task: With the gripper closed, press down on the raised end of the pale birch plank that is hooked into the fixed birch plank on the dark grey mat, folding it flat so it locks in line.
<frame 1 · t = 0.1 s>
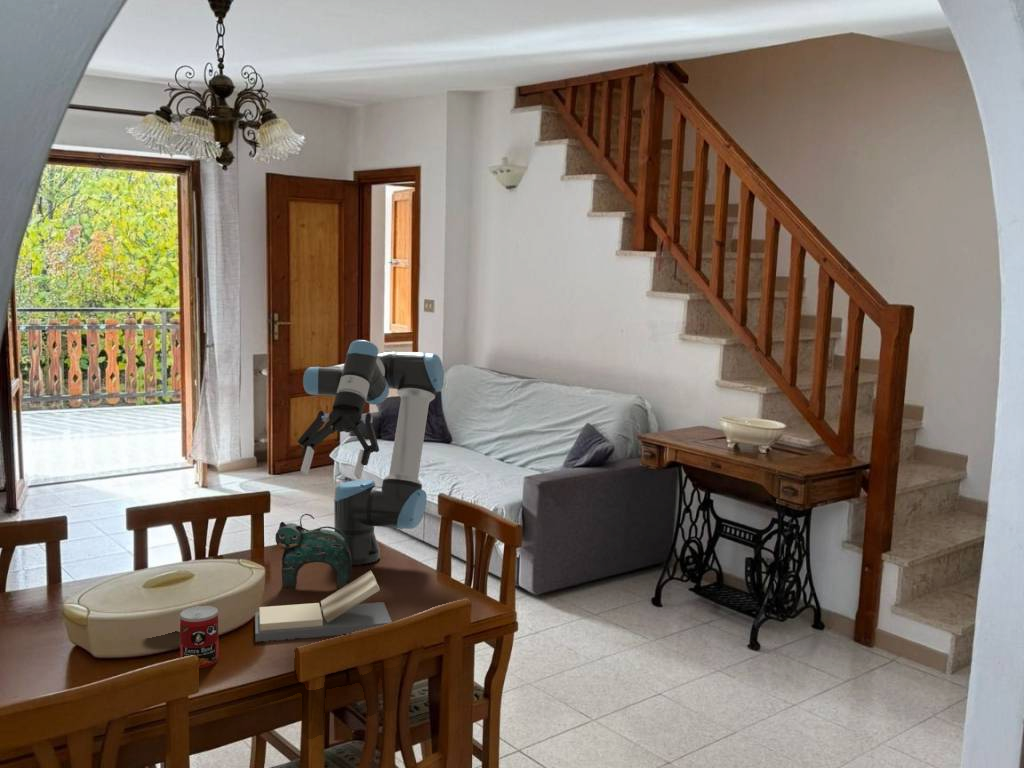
hand: (330, 475, 211), 36 cm above the table, tool tilted 35°, fingers open, 13 cm apart
ceramic cat: (314, 586, 240), on the table
birch plank: (349, 595, 213), point 7 cm above the table, hinge at 30.0°
canned food: (199, 662, 190), on the table
plank mat: (322, 625, 212), on the table
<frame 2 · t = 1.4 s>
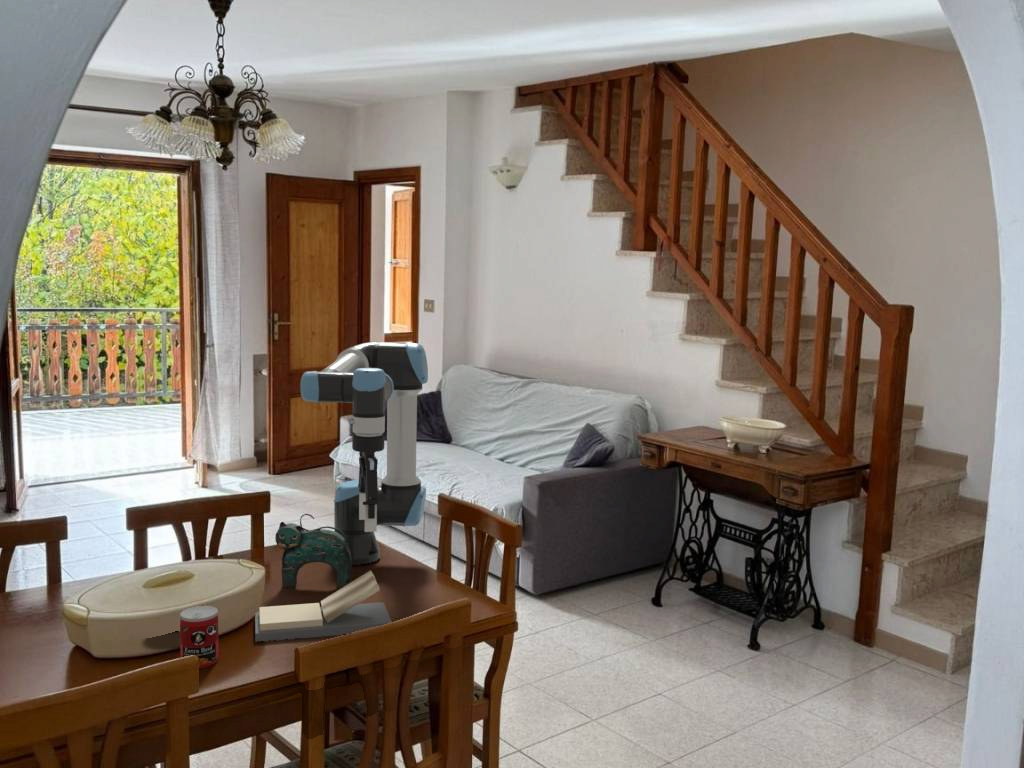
hand: (367, 525, 212), 24 cm above the table, tool pointing down, fingers open, 10 cm apart
nothing on the table moved.
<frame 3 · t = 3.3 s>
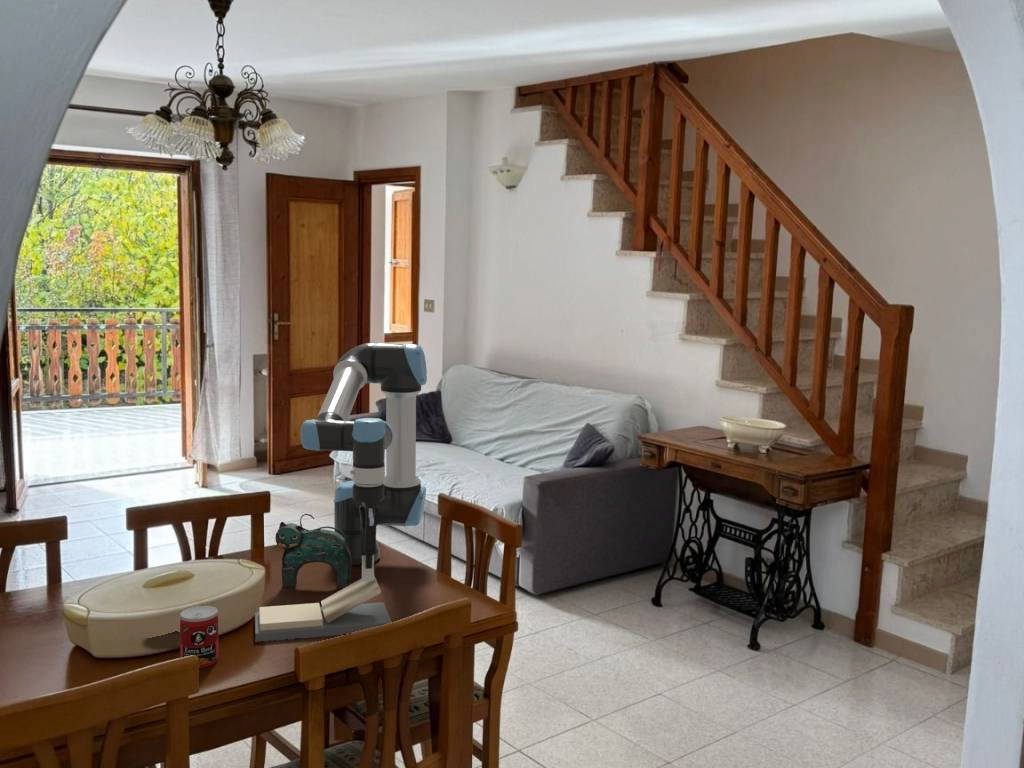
hand: (367, 580, 214), 10 cm above the table, tool pointing down, fingers closed
birch plank: (350, 596, 213), point 6 cm above the table, hinge at 27.2°, touching gripper
everything else where it was.
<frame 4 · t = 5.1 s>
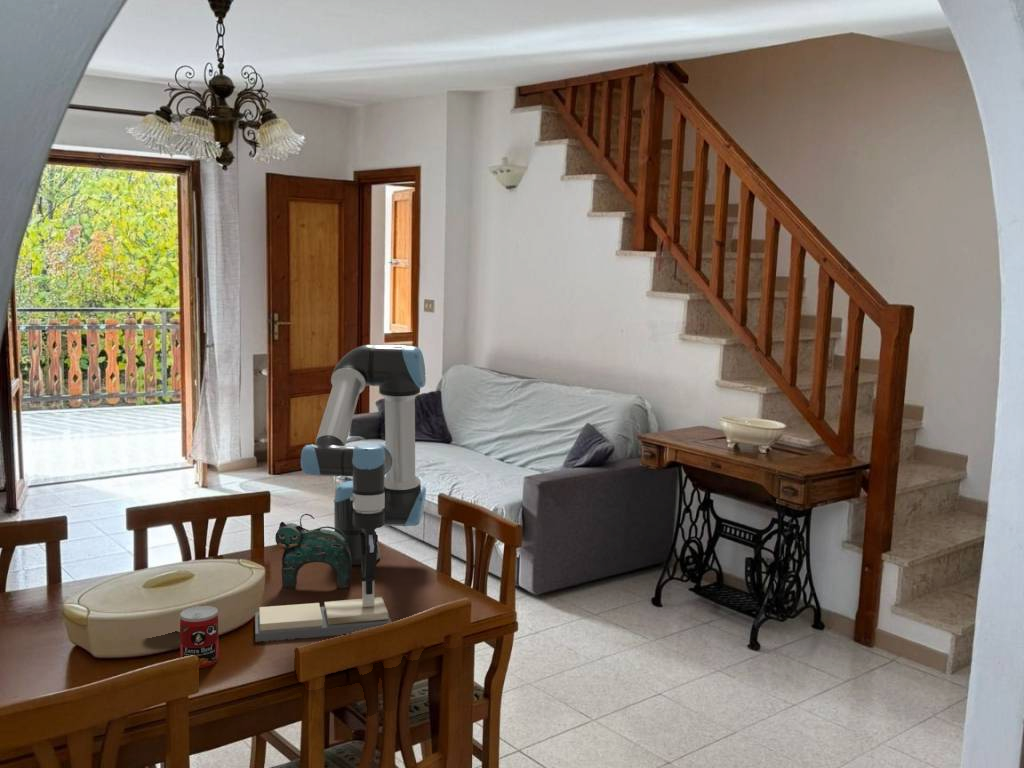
hand: (368, 605, 214), 4 cm above the table, tool pointing down, fingers closed
birch plank: (355, 610, 214), point 3 cm above the table, hinge at 1.0°, touching gripper
everything else where it was.
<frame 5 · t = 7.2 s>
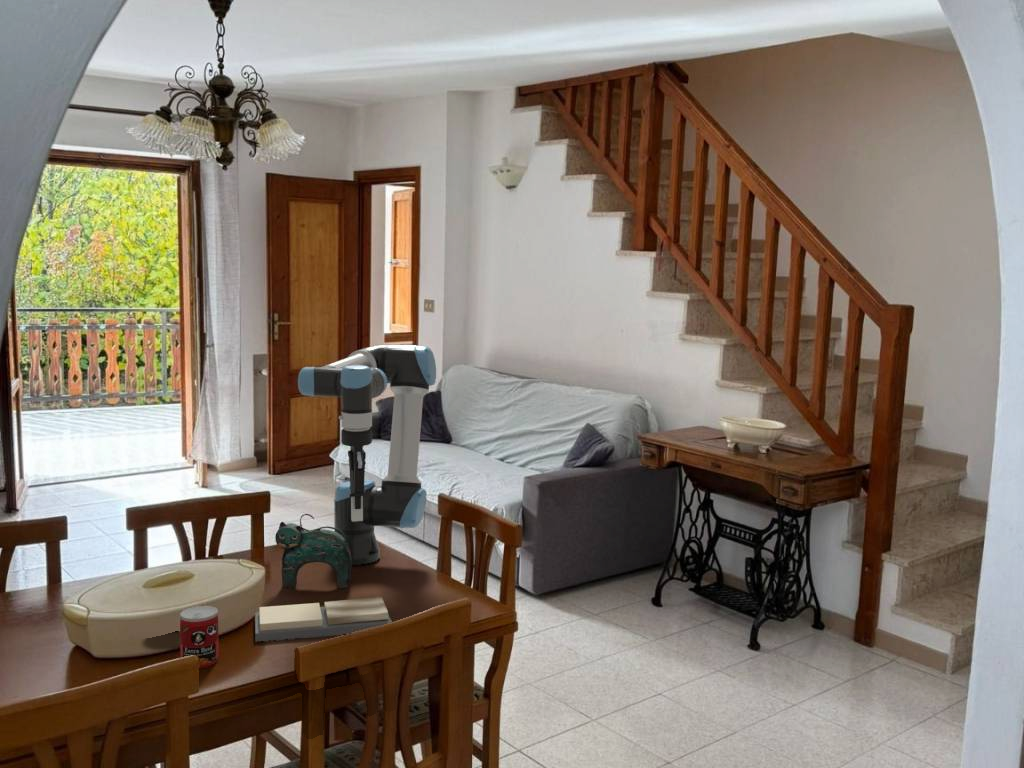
hand: (357, 520, 224), 22 cm above the table, tool pointing down, fingers closed
birch plank: (355, 610, 214), point 3 cm above the table, hinge at 0.9°
everything else where it was.
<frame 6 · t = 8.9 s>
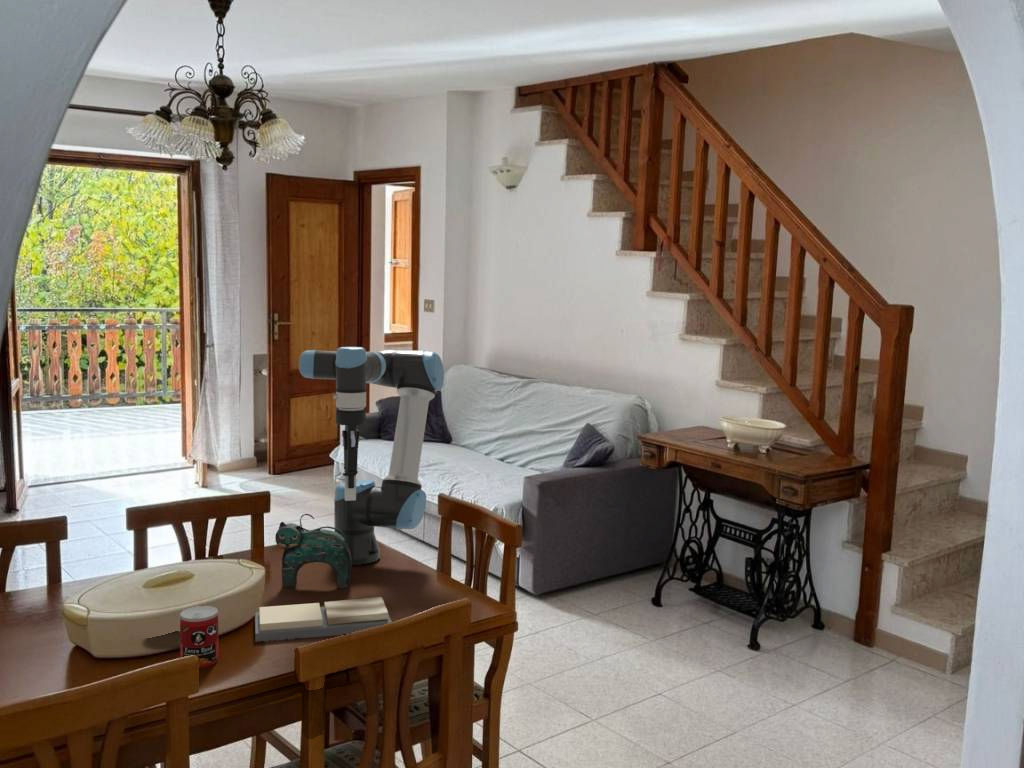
hand: (350, 499, 227), 26 cm above the table, tool pointing down, fingers closed
nothing on the table moved.
at the end: birch plank at +1° (first picture: +30°); canned food moved 0.2 cm from its start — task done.
